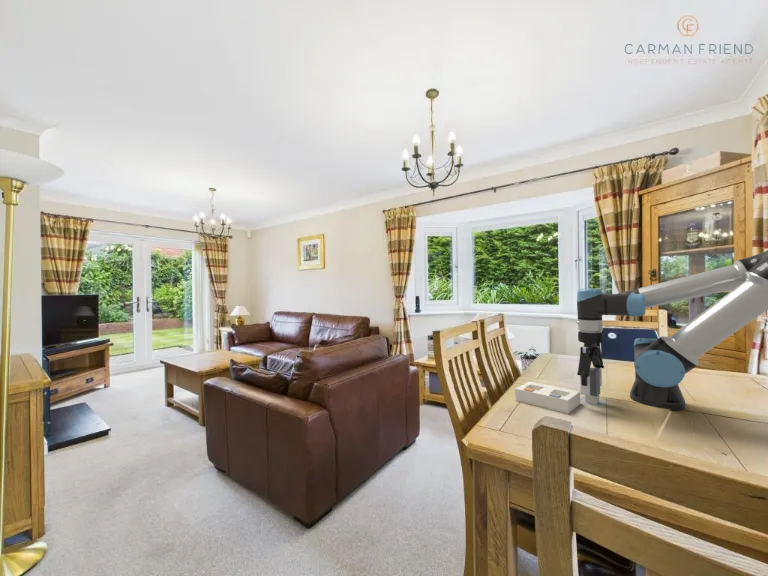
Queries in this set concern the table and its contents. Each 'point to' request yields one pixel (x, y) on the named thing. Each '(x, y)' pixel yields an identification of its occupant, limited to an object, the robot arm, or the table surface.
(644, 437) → the table surface
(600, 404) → the mat
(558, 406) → the socket block
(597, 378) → the grey tall block
